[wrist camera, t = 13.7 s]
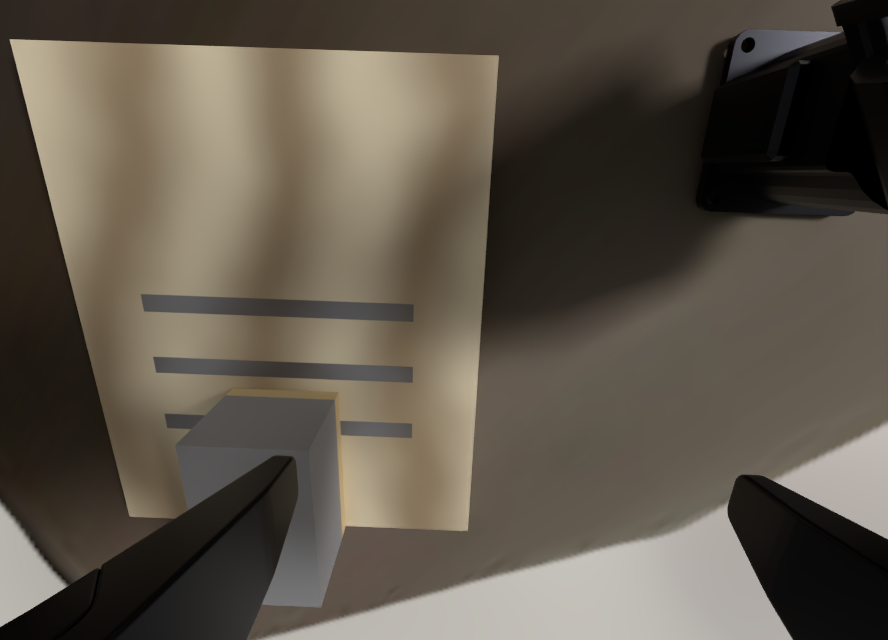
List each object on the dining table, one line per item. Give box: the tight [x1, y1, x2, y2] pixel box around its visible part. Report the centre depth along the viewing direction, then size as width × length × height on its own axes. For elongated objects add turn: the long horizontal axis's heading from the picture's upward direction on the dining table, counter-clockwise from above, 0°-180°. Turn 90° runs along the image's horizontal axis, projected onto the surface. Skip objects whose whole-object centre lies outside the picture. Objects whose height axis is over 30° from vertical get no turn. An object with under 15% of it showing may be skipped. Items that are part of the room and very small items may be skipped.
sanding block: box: [175, 388, 346, 607], centre depth 20 cm, size 5×8×4 cm, turn 178°
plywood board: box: [10, 39, 499, 531], centre depth 20 cm, size 18×22×1 cm
